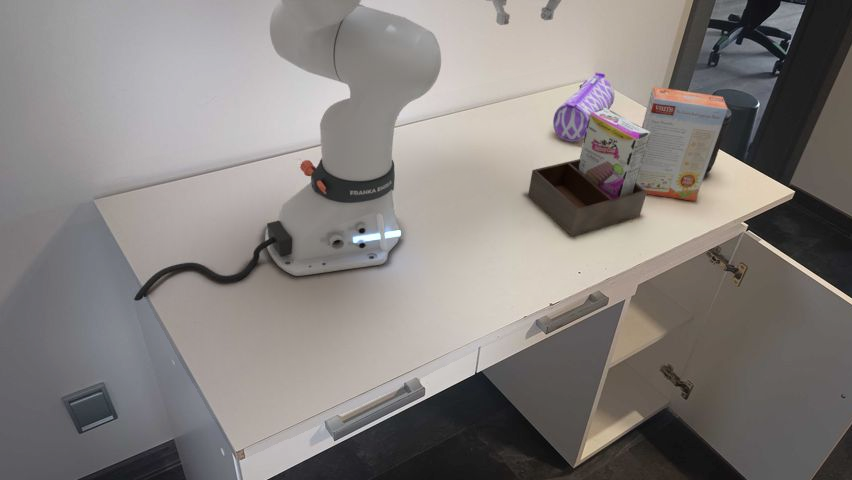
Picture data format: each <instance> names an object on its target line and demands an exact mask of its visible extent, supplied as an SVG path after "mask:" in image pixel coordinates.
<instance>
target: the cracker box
mask: <svg viewBox="0 0 852 480" xmlns="http://www.w3.org/2000/svg"><path fill="white" fill-rule="evenodd" d="M727 108H728V105H727V104H726V101H725V98H724V97H723V96H719V95H714V94H713V95H712V94H706V93H700V92H692V91H686V90H679V89H673V88H668V87H667V88H665V87H661V86H652V87H651V92H650V95H649V99H648V103H647V106H646V110H645V113H644V118H643V121H642V126H641V127H642V128H644V129H645V130H647V131H649V132H650V136H649V140H648V143H647V146H646V150H645V153H644V156H643V160H642V163H641V167H640V170H639V173H638V176H637V180H636V183H637V184H638V185H639V186H641V187H642V188H643V189H644V190H646V191H647V194H646V195H653V196H658V197H666V198H672V199H679V200H686V201H692V202H695V201H696V200H697V197H698V194H699V192H700V189H701V186H702V183H703V180H704V179H705V178H704V175H705V172H706V169H707V167H708V164H709V161H710V158H711V155H712V152H713V149H714V147H715V144H716V141H717V138H718V135H719V132H720V129H721V127H722V124H723V121H724V118H725V115H726V113H727V110H728V109H727Z"/></svg>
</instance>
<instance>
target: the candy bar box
mask: <svg viewBox="0 0 852 480" xmlns="http://www.w3.org/2000/svg"><path fill="white" fill-rule="evenodd" d="M649 136H650V132H649V131H647V130H645V129H644V128H642V126H639V125H638V124H636V123H634V122H633V121H630V120H628V119H627V118H625V117H623V116H621V115H619V114H618V113H616V112H614V111H612V110H610V108H609V109H607V108H603V109H601V110H598V111H596V112H592V113H591V114H590V116H589V120H588V125H587V129H586V133H585V137H584V138H583V143H582V146H581V148H582V149H581V152H580V156H579V159H580V160H579V165H578V170H579V171H580V172H581V173H582V174H584V175H585V176H586V177H587V178H588V179H590V180H591V181H592V182H593V183H594V184H595V185H597V186H598V187H599V188H600V189H601V190H603V191H604V192H605V193H606V194H607V195H609V196H610V197H611V198H612V199H615V198H618V197H622V196H626V195H629V194H632V193H633V190H634V187H635V183H636V180H637V176H638V173H639V170H640V167H641V163H642V160H643V156H644V153H645V150H646V146H647V143H648V140H649Z"/></svg>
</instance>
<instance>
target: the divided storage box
mask: <svg viewBox="0 0 852 480" xmlns="http://www.w3.org/2000/svg"><path fill="white" fill-rule="evenodd" d="M579 160H580V158H578V159H574V160H570V161H564V162H560V163H556V164H552V165H548V166H544V167H539V168H535V169H532V171H531V177H530V182H529V187H528V195H527V196H529V198H530V199H531V200H532V201H534V202H535V203H536V205H538V206H539V207H540V208H541V209H542V210H543V211H544V212H545V213H546V214H547V215H549V216H550V218H552V219H553V220H554V221H555V222H556V223H557V224H558V225H559V226H560V227H561V228H562V229H563V230H564V231H565V232H566V233H568V235H570V236H571V237H575V236H579V235H582V234H585V233H588V232H593V231H595V230H598V229H601V228H605V227H609V226H612V225H615V224H618V223H622V222H625V221H628V220H632V219H635V218H638V217H640V216H641V213H642V209H643V207H644V203H645V200H646V197H647V195H648V194H647V191H646V190H644V189H643V188H642V187H641V186H639V185H638V184H637V183H635V187H634V190H633V193H632V194H629V195H626V196H622V197H618V198H615V199H612V198H611V197H610V196H609V195H607V194H606V193H605V192H604V191H603V190H601V189H600V188H599V187H598V186H597V185H595V184H594V183H593V182H592V181H591V180H590V179H588V178H587V177H586V176H585V175H584V174H582V173H581V172H580V171H579V170H578V165H579Z"/></svg>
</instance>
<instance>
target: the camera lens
mask: <svg viewBox="0 0 852 480" xmlns="http://www.w3.org/2000/svg"><path fill="white" fill-rule="evenodd" d="M727 109H728V110H727V113H726V115H725V118H724V121H723V124H722V127H721V129H720V132H719V135H718V138H717V141H716V144H715V147H714V149H713V152H712V155H711V158H710V161H709V164H708V167H707V169H706V172H705V175H704V178H703V179H705V178H707V176H708V174H709V172H711V171H712V169H713V166H714V164H715V163H716V159H717V157H718V153H719V150H720V148H721V145H722V143H723V139H724V138H725V135H726V134H727V130H728V128H729V125H730V123H731V120H732V119H731V118H732V117H731V116H732V111H731V109H730V108H728V107H727Z"/></svg>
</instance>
